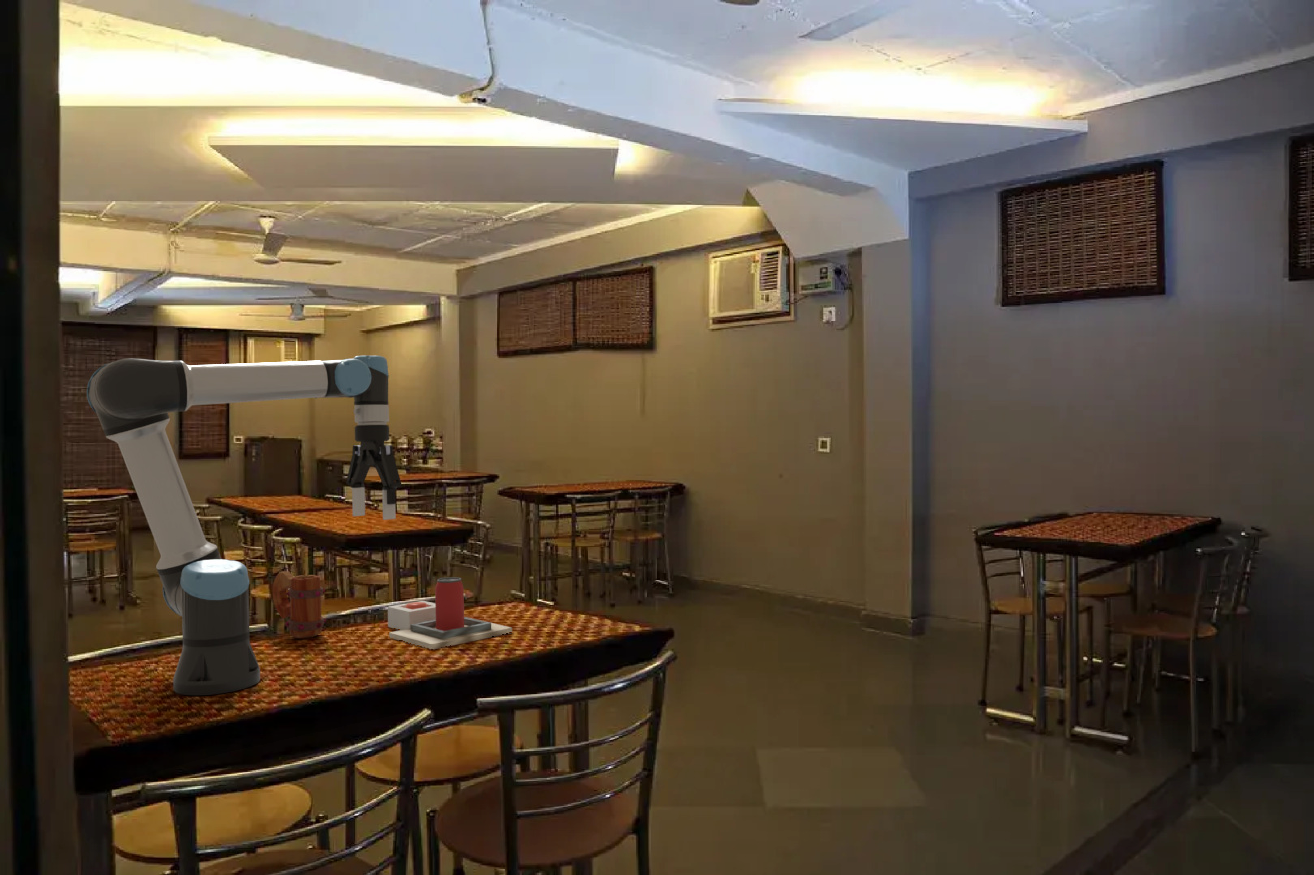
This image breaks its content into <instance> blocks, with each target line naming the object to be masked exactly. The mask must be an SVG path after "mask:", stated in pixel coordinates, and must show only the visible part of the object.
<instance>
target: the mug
mask: <svg viewBox="0 0 1314 875" xmlns="http://www.w3.org/2000/svg"><path fill="white" fill-rule="evenodd" d="M288 589H289V590H288ZM324 593H326V589H325V588H323V587H322V586H321V576H320V575H315V574H308V575H306V576H305V575H296V576H293V574H292V573H291V572H290V571H287V570H286V571H281V572H279V573H278V574H277V575H276V577H275V579H274V580H273V584H272V600H273V604H274V607H275V609H276V611H277V613H278V615H279V616H280V617H281V618H282V619H286V618H288V619H287V621H285V623H284V624H285V627H286V628H288V629H289V634H290V636H291V637H293V638H295V639H299V640H300V639H303V640H304V639H311V638H314V637H317V636H318V635H320V634H321V633H322V630H323V627H324V624H326V623H327V619H326V618H324V617H323V616H322V596H323V594H324ZM288 597H289V598H290V601H289V599H288Z"/></svg>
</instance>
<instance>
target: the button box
mask: <svg viewBox="0 0 1314 875" xmlns="http://www.w3.org/2000/svg"><path fill="white" fill-rule="evenodd" d="M414 602H415V601H413V602H412V603H414ZM418 602H424V603H426V607H424V608H418V609H408V608H406V604H408V603H409V602H408V603H407V602H406V603H403V604H401V603H400V604H395V605H390V606H387V627H388V628H391V629H394V628H396V629H395V630H398V629H400V630H405V629H411V624H416V623H421V622H427V621H432V620H436V606H435V602H432V601H431V602H430V601H425V600H419V601H418ZM400 630H399V631H400Z"/></svg>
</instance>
